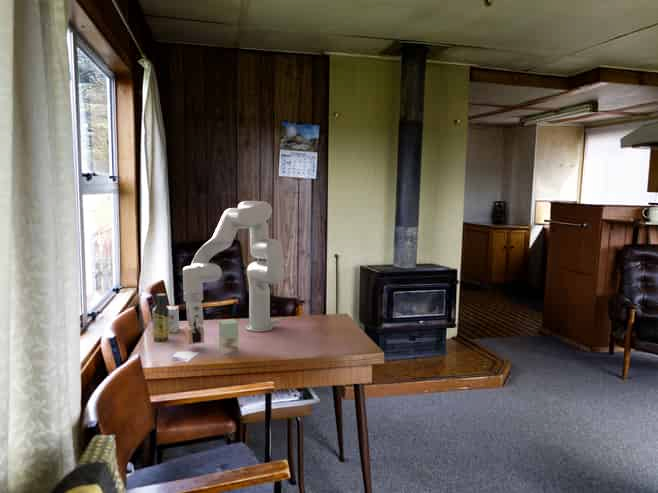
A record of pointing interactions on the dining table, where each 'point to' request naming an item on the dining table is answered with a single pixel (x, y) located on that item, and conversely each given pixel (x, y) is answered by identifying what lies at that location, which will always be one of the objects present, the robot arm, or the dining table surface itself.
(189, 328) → the light brown cube
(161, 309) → the sauce bottle
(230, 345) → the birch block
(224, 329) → the sage block
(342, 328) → the dining table surface
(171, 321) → the light bulb box
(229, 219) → the robot arm
